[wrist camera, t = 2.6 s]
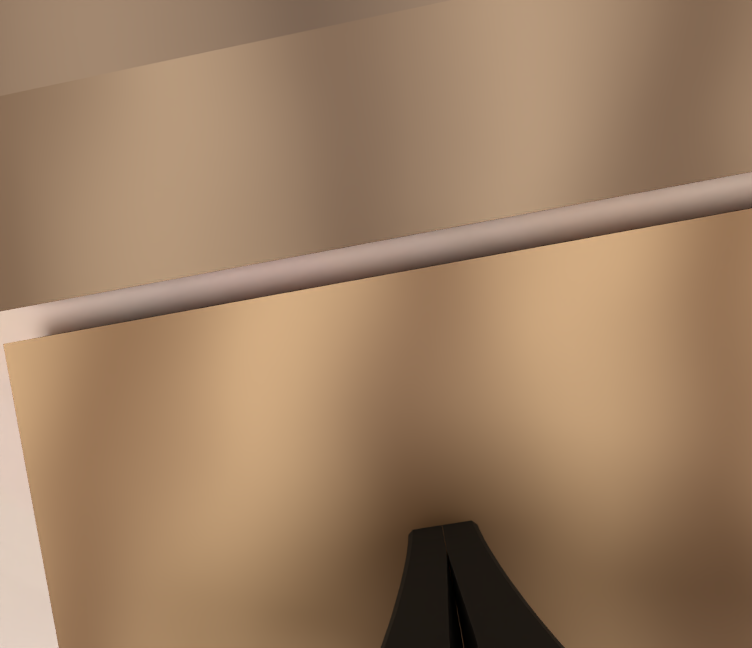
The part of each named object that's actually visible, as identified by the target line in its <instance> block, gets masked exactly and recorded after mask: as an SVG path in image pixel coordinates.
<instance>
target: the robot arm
mask: <svg viewBox="0 0 752 648" xmlns="http://www.w3.org/2000/svg"><path fill="white" fill-rule="evenodd" d="M442 527H443V529H442ZM443 532H444V535H443ZM444 538H445V540H444ZM445 543H446V546H445ZM446 549H447V551H446ZM447 555H448V557H447ZM448 560H449V563H448ZM449 566H450V568H449ZM450 571H451V574H450ZM451 577H452V579H451ZM452 582H453V585H452ZM453 588H454V590H453ZM454 594H455V596H454ZM455 599H456V602H455ZM456 605H457V607H456ZM457 610H458V613H457ZM458 616H459V618H458ZM459 621H460V624H459ZM460 627H461V629H460ZM461 633H462V635H461ZM462 638H463V641H462ZM463 644H464V646H463ZM381 648H565V647H564V646H563V645H562V644H561V643H560V642H559V641H558V639H557V638H556V637H555V636H554V635H553V634H552V632H551V631H550V630H549V629H548V628H547V626H546V625H545V624H544V623H543V622H542V620H541V619H540V618H539V617H538V616H537V614H536V613H535V612H534V611H533V609H532V608H531V607H530V605H529V604H528V603H527V602H526V600H525V599H524V598H523V596H522V595H521V593H520V592H519V591H518V589H517V588H516V587H515V585H514V584H513V583H512V581H511V580H510V579H509V577H508V576H507V574H506V573H505V571H504V570H503V568H502V567H501V565H500V564H499V562H498V561H497V559H496V558H495V556H494V555H493V553H492V551H491V550H490V548H489V546H488V544H487V543H486V541H485V539H484V537H483V535H482V533H481V531H480V529H479V527H478V524H476V523H475V522H473V521H472V520H471V521H464V522H458V523H452V524H445V525H439V526H433V527H426V528H420V529H414V530H412V531H411V532H410V534H409V535H408V546H407V554H406V560H405V565H404V570H403V574H402V579H401V583H400V587H399V590H398V594H397V598H396V601H395V605H394V608H393V612H392V615H391V619H390V622H389V625H388V628H387V630H386V633H385V636H384V639H383V642H382V645H381Z"/></svg>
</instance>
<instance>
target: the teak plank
mask: <svg viewBox="0 0 752 648" xmlns="http://www.w3.org/2000/svg"><path fill="white" fill-rule="evenodd" d="M3 346H4V351H5V356H6V362H7V367H8V373H9V378H10V384H11V389H12V395H13V400H14V405H15V411H16V416H17V422H18V427H19V433H20V438H21V444H22V449H23V455H24V460H25V465H26V471H27V476H28V482H29V487H30V493H31V498H32V504H33V509H34V514H35V520H36V525H37V531H38V536H39V542H40V547H41V553H42V558H43V563H44V569H45V574H46V580H47V585H48V591H49V596H50V602H51V607H52V613H53V618H54V623H55V629H56V634H57V640H58V645H59V648H381V645H382V642H383V639H384V636H385V633H386V630H387V628H388V625H389V622H390V619H391V615H392V612H393V608H394V605H395V601H396V598H397V594H398V590H399V587H400V583H401V579H402V574H403V570H404V565H405V560H406V554H407V546H408V535H409V534H410V532H411V531H412V530H414V529H420V528H426V527H433V526H439V525H445V524H452V523H458V522H464V521H471V520H472V521H473V522H475V523H476V524H478V527H479V529H480V531H481V533H482V535H483V537H484V539H485V541H486V543H487V544H488V546H489V548H490V550H491V551H492V553H493V555H494V556H495V558H496V559H497V561H498V562H499V564H500V565H501V567H502V568H503V570H504V571H505V573H506V574H507V576H508V577H509V579H510V580H511V581H512V583H513V584H514V585H515V587H516V588H517V589H518V591H519V592H520V593H521V595H522V596H523V598H524V599H525V600H526V602H527V603H528V604H529V605H530V607H531V608H532V609H533V611H534V612H535V613H536V614H537V616H538V617H539V618H540V619H541V620H542V622H543V623H544V624H545V625H546V626H547V628H548V629H549V630H550V631H551V632H552V634H553V635H554V636H555V637H556V638H557V639H558V641H559V642H560V643H561V644H562V645H563V646H564V647H565V648H752V208H751V209H745V210H740V211H734V212H729V213H723V214H718V215H712V216H707V217H701V218H696V219H690V220H685V221H679V222H674V223H668V224H663V225H657V226H652V227H646V228H641V229H635V230H630V231H624V232H619V233H613V234H608V235H602V236H597V237H591V238H586V239H580V240H575V241H569V242H564V243H558V244H553V245H547V246H541V247H536V248H530V249H525V250H519V251H514V252H508V253H503V254H497V255H492V256H486V257H481V258H475V259H470V260H464V261H459V262H453V263H448V264H442V265H437V266H431V267H426V268H420V269H415V270H409V271H404V272H398V273H393V274H387V275H382V276H376V277H371V278H365V279H360V280H354V281H349V282H343V283H338V284H332V285H327V286H321V287H315V288H310V289H304V290H299V291H293V292H288V293H282V294H277V295H271V296H266V297H260V298H255V299H249V300H244V301H238V302H233V303H227V304H222V305H216V306H211V307H205V308H200V309H194V310H189V311H183V312H178V313H172V314H167V315H161V316H156V317H150V318H145V319H139V320H134V321H128V322H123V323H117V324H112V325H106V326H101V327H95V328H90V329H84V330H78V331H73V332H67V333H62V334H56V335H51V336H45V337H40V338H34V339H29V340H23V341H18V342H12V343H7V344H3ZM442 529H443V527H442ZM443 535H444V532H443ZM444 540H445V538H444ZM445 546H446V543H445ZM446 551H447V549H446ZM447 557H448V555H447ZM448 563H449V560H448ZM449 568H450V566H449ZM450 574H451V571H450ZM451 579H452V577H451ZM452 585H453V582H452ZM453 590H454V588H453ZM454 596H455V594H454ZM455 602H456V599H455ZM456 607H457V605H456ZM457 613H458V610H457ZM458 618H459V616H458ZM459 624H460V621H459ZM460 629H461V627H460ZM461 635H462V633H461ZM462 641H463V638H462ZM463 646H464V644H463Z"/></svg>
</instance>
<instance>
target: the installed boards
mask: <svg viewBox="0 0 752 648" xmlns="http://www.w3.org/2000/svg"><path fill="white" fill-rule="evenodd" d="M748 172H752V0H0V311H4V310H10V309H15V308H21V307H26V306H31V305H37V304H42V303H47V302H53V301H58V300H64V299H69V298H74V297H80V296H85V295H91V294H96V293H101V292H107V291H112V290H117V289H123V288H128V287H134V286H139V285H144V284H150V283H155V282H161V281H166V280H171V279H177V278H182V277H188V276H193V275H198V274H204V273H209V272H214V271H220V270H225V269H231V268H236V267H241V266H247V265H252V264H258V263H263V262H268V261H274V260H279V259H285V258H290V257H295V256H301V255H306V254H311V253H317V252H322V251H328V250H333V249H338V248H344V247H349V246H355V245H360V244H365V243H371V242H376V241H381V240H387V239H392V238H398V237H403V236H408V235H414V234H419V233H425V232H430V231H435V230H441V229H446V228H452V227H457V226H462V225H468V224H473V223H478V222H484V221H489V220H495V219H500V218H505V217H511V216H516V215H522V214H527V213H532V212H538V211H543V210H548V209H554V208H559V207H565V206H570V205H575V204H581V203H586V202H592V201H597V200H602V199H608V198H613V197H619V196H624V195H629V194H635V193H640V192H645V191H651V190H656V189H662V188H667V187H672V186H678V185H683V184H689V183H694V182H699V181H705V180H710V179H715V178H721V177H726V176H732V175H737V174H742V173H748Z"/></svg>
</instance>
